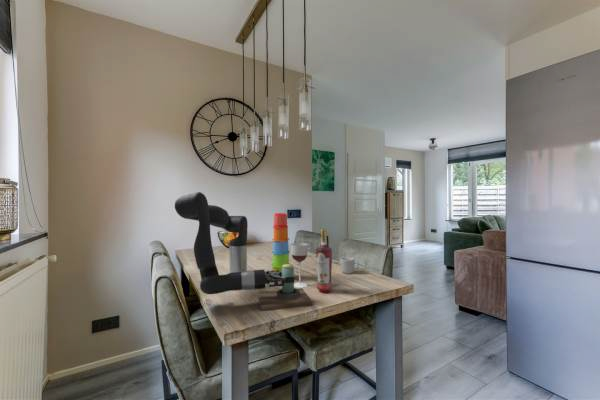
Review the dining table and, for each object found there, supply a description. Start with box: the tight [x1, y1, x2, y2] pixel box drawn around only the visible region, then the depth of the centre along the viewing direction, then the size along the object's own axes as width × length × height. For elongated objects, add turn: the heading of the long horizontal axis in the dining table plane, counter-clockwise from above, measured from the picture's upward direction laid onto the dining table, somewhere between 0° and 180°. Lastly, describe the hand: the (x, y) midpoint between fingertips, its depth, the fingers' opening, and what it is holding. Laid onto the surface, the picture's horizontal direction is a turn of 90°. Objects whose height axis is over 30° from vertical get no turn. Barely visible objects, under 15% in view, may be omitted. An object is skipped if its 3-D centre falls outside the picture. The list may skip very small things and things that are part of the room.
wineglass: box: [290, 242, 309, 289], centre depth 130 cm, size 8×9×20 cm
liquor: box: [315, 228, 333, 294], centre depth 122 cm, size 7×7×28 cm
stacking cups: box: [271, 212, 291, 277], centre depth 142 cm, size 10×10×35 cm
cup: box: [339, 256, 360, 275], centre depth 150 cm, size 11×8×8 cm
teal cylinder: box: [281, 263, 295, 294], centre depth 112 cm, size 5×5×13 cm
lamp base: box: [257, 287, 313, 311], centre depth 111 cm, size 16×20×4 cm
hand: (292, 276), depth 112 cm, fingers open, 8 cm apart
